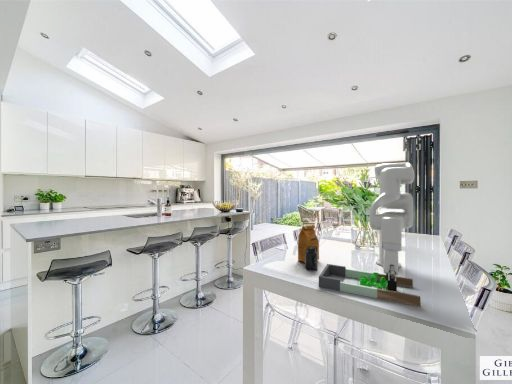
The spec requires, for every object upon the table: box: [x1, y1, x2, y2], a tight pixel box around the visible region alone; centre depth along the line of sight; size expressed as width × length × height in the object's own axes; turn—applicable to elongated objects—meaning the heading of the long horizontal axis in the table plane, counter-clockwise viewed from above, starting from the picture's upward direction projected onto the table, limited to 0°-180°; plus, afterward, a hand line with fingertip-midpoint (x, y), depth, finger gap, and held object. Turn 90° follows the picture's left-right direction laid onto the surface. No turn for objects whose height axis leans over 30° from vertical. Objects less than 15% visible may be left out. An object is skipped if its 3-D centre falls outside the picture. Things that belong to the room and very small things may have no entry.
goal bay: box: [339, 268, 378, 299], centre depth 101 cm, size 20×14×4 cm
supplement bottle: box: [304, 246, 319, 271], centre depth 123 cm, size 7×7×12 cm
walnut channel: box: [376, 273, 421, 308], centre depth 94 cm, size 20×14×4 cm
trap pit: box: [318, 263, 347, 292], centre depth 106 cm, size 20×9×4 cm, turn 152°
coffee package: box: [297, 224, 320, 263], centre depth 137 cm, size 10×12×22 cm
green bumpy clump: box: [357, 272, 391, 291], centre depth 98 cm, size 15×15×7 cm
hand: (391, 286), depth 95 cm, fingers open, 9 cm apart
